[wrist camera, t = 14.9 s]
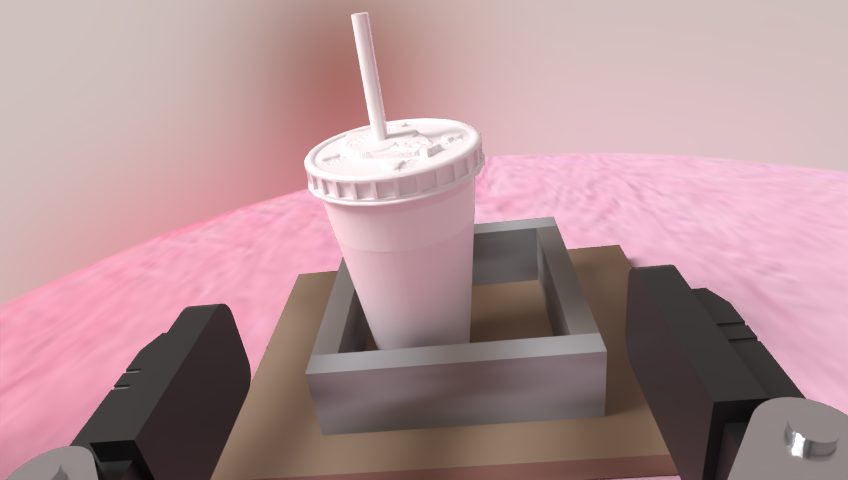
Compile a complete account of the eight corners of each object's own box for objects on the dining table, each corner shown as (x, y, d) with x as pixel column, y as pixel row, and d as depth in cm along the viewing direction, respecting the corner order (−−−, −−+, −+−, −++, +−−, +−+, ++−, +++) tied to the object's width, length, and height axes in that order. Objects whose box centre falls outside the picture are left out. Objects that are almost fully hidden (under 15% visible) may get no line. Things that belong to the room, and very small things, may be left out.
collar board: (216, 500, 20) (180, 420, 18) (302, 288, 33) (286, 227, 31) (733, 471, 19) (751, 380, 17) (618, 260, 31) (621, 194, 29)
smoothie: (420, 300, 28) (373, 2, 22) (530, 343, 24) (512, -8, 18) (323, 372, 24) (230, 33, 18) (435, 438, 20) (367, 31, 14)
